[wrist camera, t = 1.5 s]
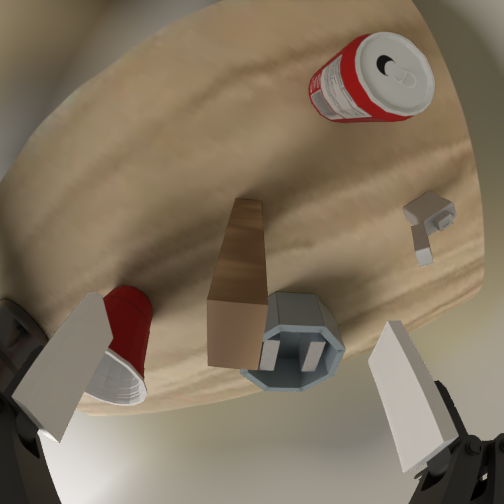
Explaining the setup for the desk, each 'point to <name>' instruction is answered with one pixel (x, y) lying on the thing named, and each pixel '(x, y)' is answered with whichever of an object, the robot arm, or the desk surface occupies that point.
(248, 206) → the brown wooden block
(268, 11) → the desk surface
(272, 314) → the grey faceted bowl
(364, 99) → the soda can
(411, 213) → the lighter
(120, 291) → the plastic cup
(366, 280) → the desk surface
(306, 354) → the clip
